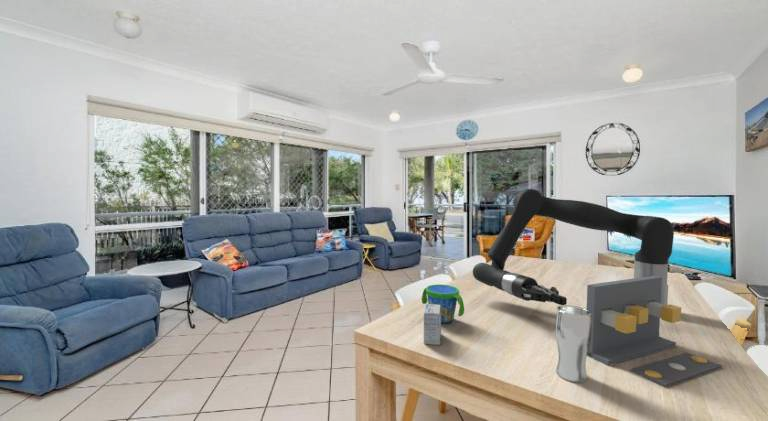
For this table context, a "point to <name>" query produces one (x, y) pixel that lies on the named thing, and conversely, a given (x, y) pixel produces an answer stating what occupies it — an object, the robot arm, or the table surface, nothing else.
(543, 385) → the table surface
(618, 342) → the button panel
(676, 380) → the pattern card
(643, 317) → the middle button
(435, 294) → the snack cup
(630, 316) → the button
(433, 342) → the medicine box
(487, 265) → the robot arm
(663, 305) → the button
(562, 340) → the silver metal cup
